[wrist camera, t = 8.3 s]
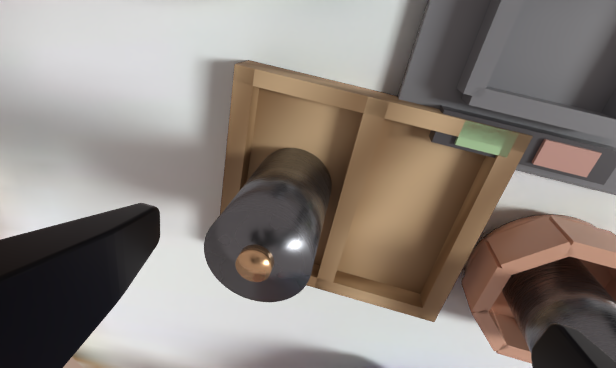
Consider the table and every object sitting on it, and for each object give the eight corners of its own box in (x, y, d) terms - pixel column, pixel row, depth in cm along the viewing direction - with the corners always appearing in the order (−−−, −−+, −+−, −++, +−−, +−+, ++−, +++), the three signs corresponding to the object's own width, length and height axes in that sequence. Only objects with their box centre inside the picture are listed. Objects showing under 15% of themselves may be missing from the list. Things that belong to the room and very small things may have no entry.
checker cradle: (776, -38, 13) (848, -49, 11) (616, 190, 17) (646, 211, 15) (460, -100, 14) (474, -120, 12) (385, 133, 18) (387, 146, 16)
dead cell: (603, 261, 18) (733, 396, 12) (559, 317, 20) (650, 460, 14) (521, 239, 19) (602, 358, 12) (486, 297, 21) (539, 426, 14)
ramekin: (651, 237, 18) (699, 274, 15) (569, 338, 22) (596, 382, 19) (499, 198, 19) (520, 227, 16) (444, 302, 22) (454, 340, 19)
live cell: (339, 158, 18) (320, 236, 12) (322, 224, 20) (298, 323, 14) (262, 139, 19) (201, 204, 12) (253, 206, 21) (195, 294, 14)
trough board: (516, 124, 17) (532, 136, 15) (429, 298, 22) (434, 322, 20) (248, 60, 18) (234, 63, 16) (228, 241, 23) (215, 258, 21)
